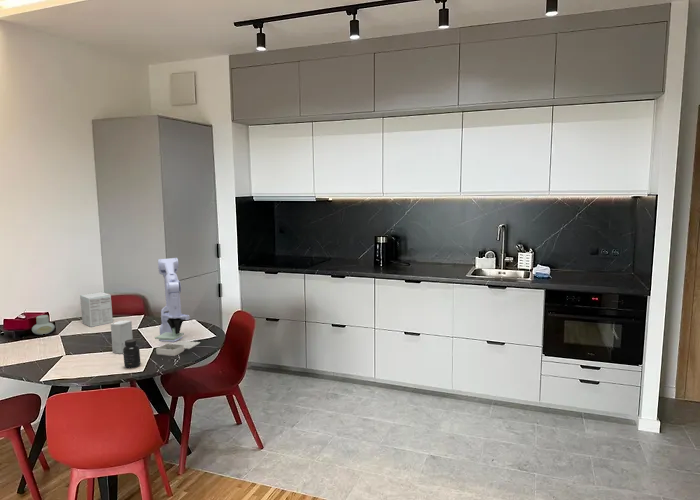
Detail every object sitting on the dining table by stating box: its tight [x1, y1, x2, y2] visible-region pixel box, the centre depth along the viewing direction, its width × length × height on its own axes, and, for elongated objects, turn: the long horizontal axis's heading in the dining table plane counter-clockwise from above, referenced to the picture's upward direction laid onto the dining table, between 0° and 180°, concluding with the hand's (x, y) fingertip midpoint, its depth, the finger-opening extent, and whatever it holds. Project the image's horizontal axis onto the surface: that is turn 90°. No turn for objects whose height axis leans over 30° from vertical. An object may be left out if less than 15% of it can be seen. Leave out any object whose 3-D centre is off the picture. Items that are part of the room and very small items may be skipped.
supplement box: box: [79, 291, 114, 328], centre depth 295 cm, size 13×13×18 cm
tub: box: [155, 343, 185, 357], centre depth 240 cm, size 10×8×3 cm
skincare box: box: [110, 319, 134, 355], centre depth 243 cm, size 8×6×15 cm
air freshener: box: [31, 314, 56, 336], centre depth 275 cm, size 11×8×10 cm
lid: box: [154, 327, 185, 341], centre depth 239 cm, size 10×8×6 cm
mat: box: [174, 340, 201, 350], centre depth 252 cm, size 12×10×1 cm
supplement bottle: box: [122, 338, 141, 369], centre depth 222 cm, size 7×7×12 cm
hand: (176, 333), depth 238 cm, fingers closed on lid
